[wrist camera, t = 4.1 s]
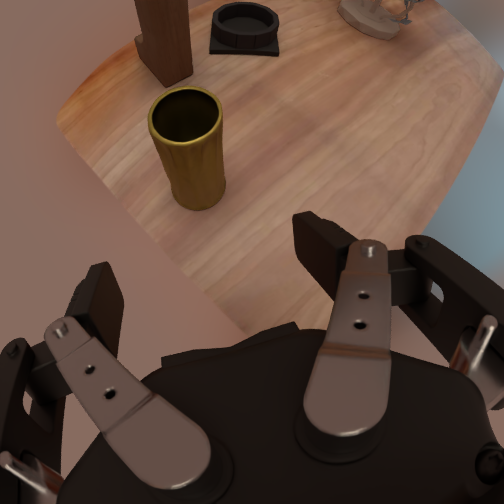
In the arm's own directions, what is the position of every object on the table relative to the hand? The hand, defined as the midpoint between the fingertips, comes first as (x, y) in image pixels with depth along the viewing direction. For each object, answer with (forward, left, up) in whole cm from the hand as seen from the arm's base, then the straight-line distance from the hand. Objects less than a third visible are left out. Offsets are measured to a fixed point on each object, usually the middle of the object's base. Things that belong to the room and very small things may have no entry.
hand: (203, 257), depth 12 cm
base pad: (+4, +36, -19) cm, 41 cm away
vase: (-2, +10, -19) cm, 22 cm away
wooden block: (-7, +29, -19) cm, 36 cm away
